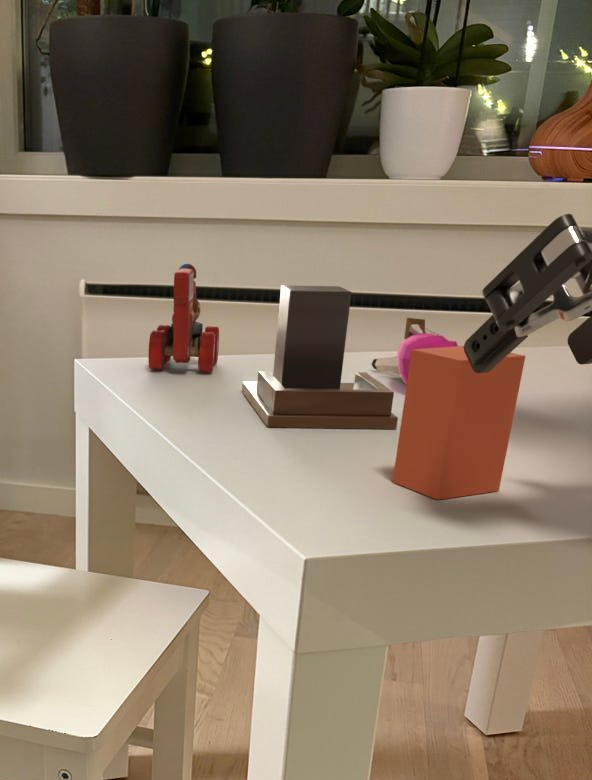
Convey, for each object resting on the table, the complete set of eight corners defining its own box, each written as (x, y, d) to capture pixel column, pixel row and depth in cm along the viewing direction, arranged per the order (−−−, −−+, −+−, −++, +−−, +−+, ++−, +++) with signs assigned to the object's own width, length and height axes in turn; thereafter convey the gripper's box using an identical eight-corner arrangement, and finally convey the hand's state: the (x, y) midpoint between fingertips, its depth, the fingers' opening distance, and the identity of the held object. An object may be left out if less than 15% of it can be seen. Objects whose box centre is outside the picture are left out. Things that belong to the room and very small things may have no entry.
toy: (457, 375, 107) (508, 393, 93) (370, 384, 108) (409, 403, 94) (459, 306, 105) (512, 313, 91) (370, 315, 105) (410, 324, 91)
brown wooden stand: (396, 429, 82) (414, 305, 78) (267, 427, 82) (278, 302, 78) (352, 393, 96) (366, 285, 91) (241, 391, 95) (249, 283, 91)
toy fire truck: (219, 358, 112) (225, 262, 108) (210, 378, 101) (217, 272, 97) (159, 355, 113) (163, 260, 109) (144, 375, 102) (148, 269, 98)
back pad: (499, 491, 66) (526, 355, 62) (437, 500, 64) (460, 360, 60) (452, 474, 70) (474, 345, 66) (391, 482, 68) (411, 349, 64)
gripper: (823, 88, 49) (582, 302, 63) (626, 70, 43) (411, 309, 57) (899, 207, 47) (632, 400, 61) (703, 205, 41) (460, 418, 55)
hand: (525, 356), depth 59 cm, fingers open, 8 cm apart
